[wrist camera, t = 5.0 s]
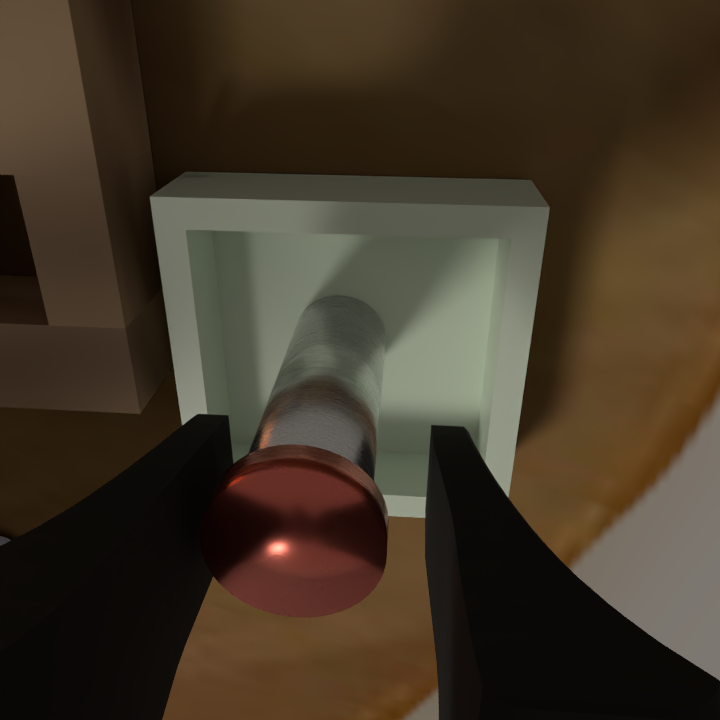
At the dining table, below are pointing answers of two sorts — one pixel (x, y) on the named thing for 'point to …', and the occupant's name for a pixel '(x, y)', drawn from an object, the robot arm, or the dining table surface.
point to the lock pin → (309, 475)
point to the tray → (364, 282)
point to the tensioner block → (79, 212)
